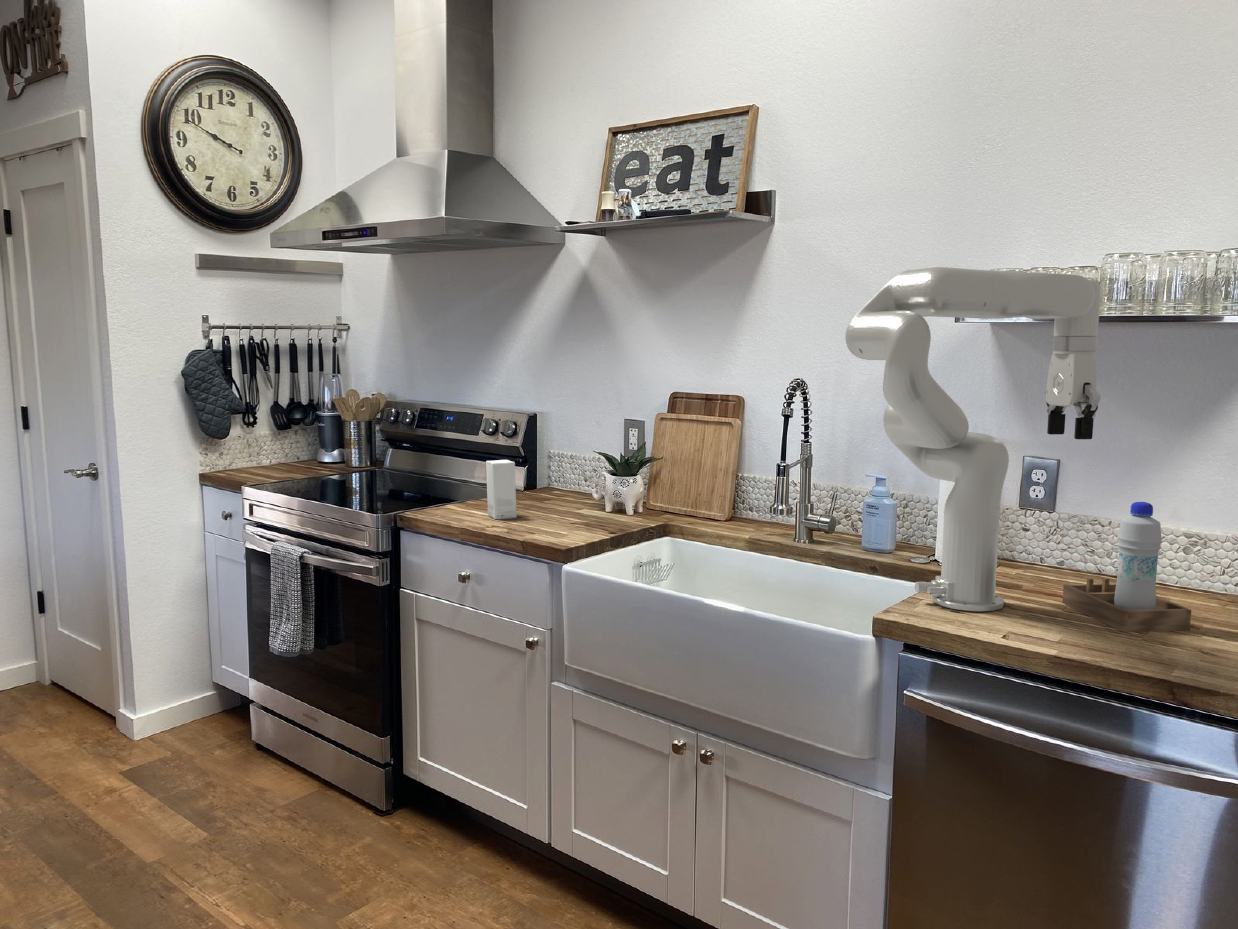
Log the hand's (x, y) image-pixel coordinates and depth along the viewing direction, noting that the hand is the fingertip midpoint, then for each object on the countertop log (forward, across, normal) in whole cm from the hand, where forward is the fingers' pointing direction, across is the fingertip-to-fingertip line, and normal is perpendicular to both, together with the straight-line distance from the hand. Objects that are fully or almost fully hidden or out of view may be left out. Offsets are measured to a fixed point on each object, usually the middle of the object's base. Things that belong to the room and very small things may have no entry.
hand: (1069, 436), depth 180 cm
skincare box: (+30, -85, -114) cm, 145 cm away
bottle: (+30, +20, +2) cm, 36 cm away
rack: (+30, +17, +2) cm, 35 cm away
